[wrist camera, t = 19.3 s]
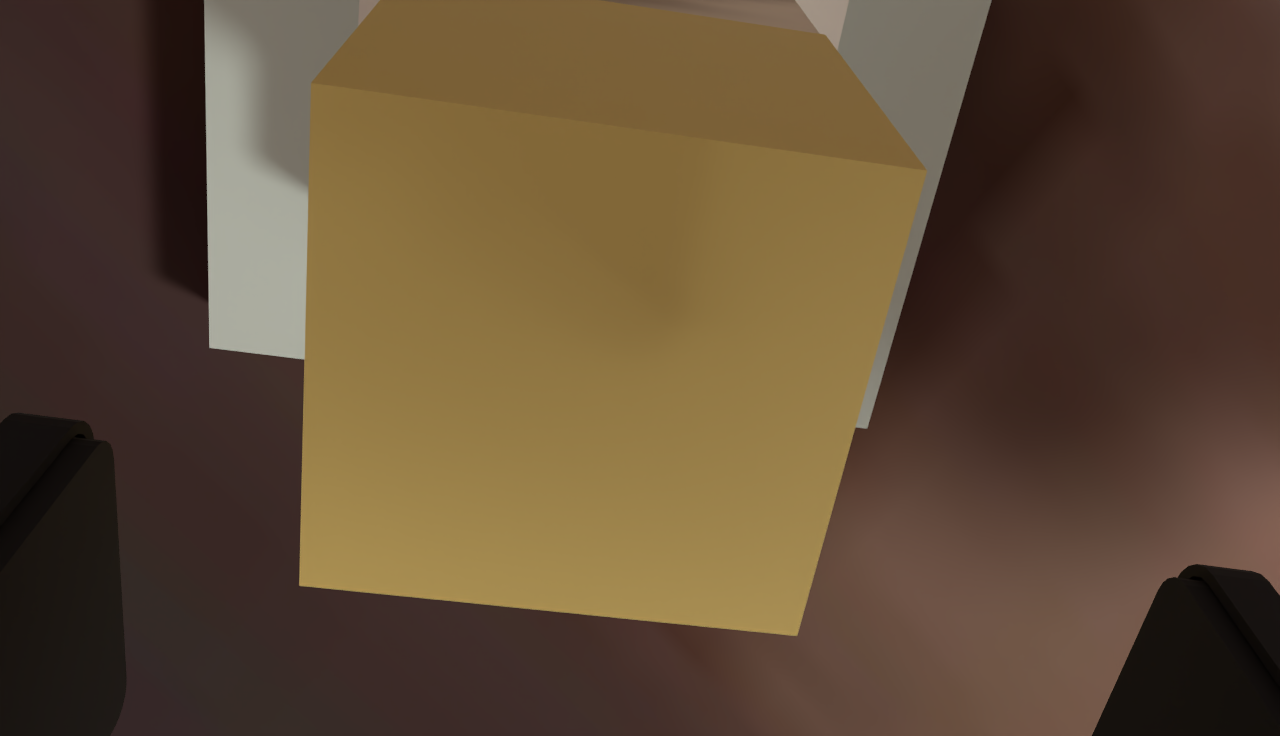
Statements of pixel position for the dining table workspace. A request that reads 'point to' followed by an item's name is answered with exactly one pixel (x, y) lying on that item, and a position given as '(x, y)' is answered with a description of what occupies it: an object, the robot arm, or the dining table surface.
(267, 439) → the dining table surface
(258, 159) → the base
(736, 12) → the maple block
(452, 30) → the mustard block
